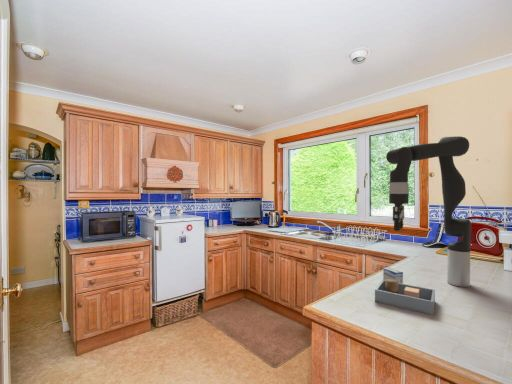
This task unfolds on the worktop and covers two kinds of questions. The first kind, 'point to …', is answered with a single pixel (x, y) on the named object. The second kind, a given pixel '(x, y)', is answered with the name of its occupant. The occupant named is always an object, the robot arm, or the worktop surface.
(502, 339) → the worktop surface
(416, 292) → the terracotta cube
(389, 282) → the walnut cylinder
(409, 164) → the robot arm
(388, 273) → the medicine box
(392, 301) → the tote
